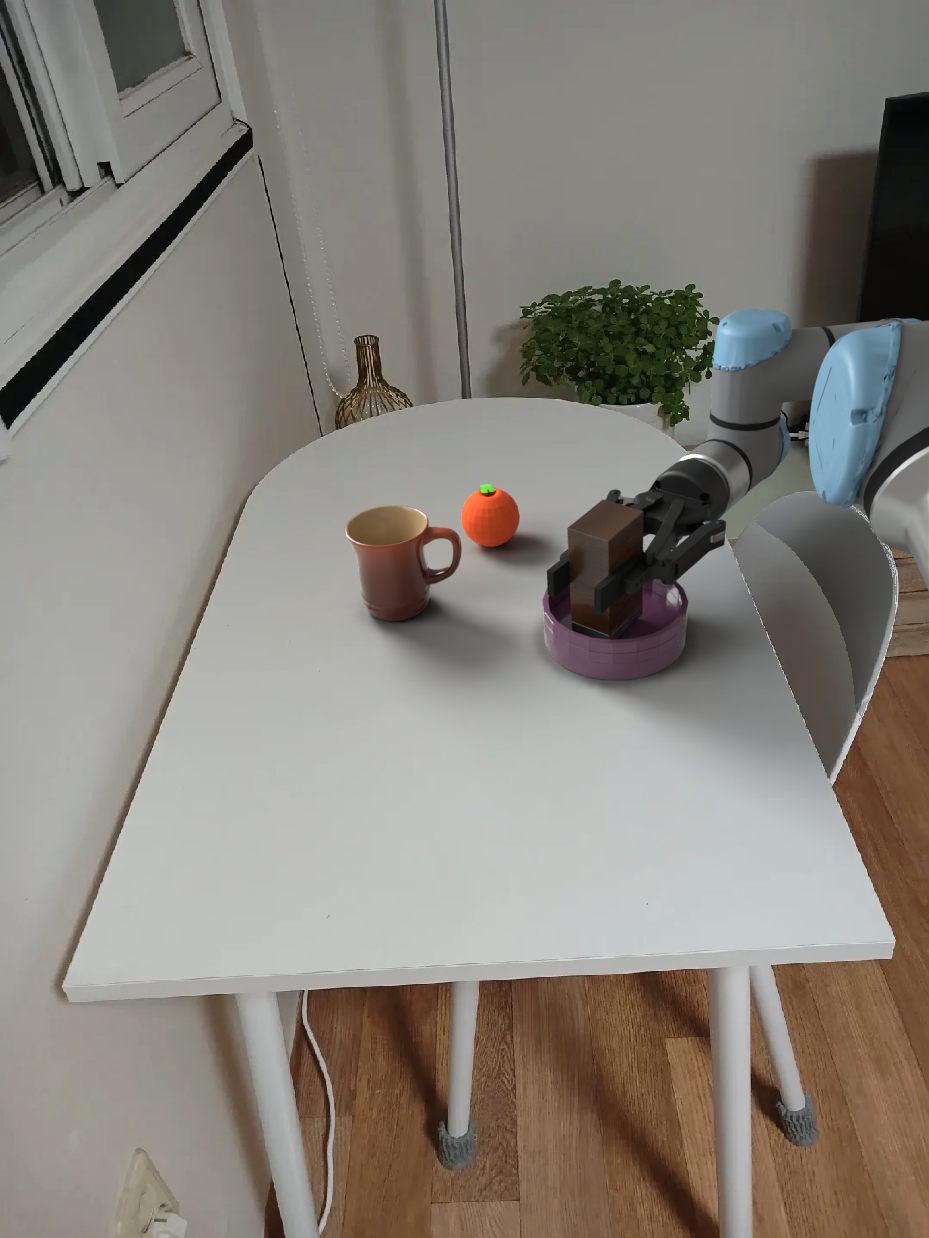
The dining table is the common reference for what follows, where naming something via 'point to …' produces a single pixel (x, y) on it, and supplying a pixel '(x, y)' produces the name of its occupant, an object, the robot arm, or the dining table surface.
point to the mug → (397, 559)
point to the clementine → (490, 516)
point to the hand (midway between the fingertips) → (574, 592)
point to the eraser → (603, 567)
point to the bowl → (635, 650)
